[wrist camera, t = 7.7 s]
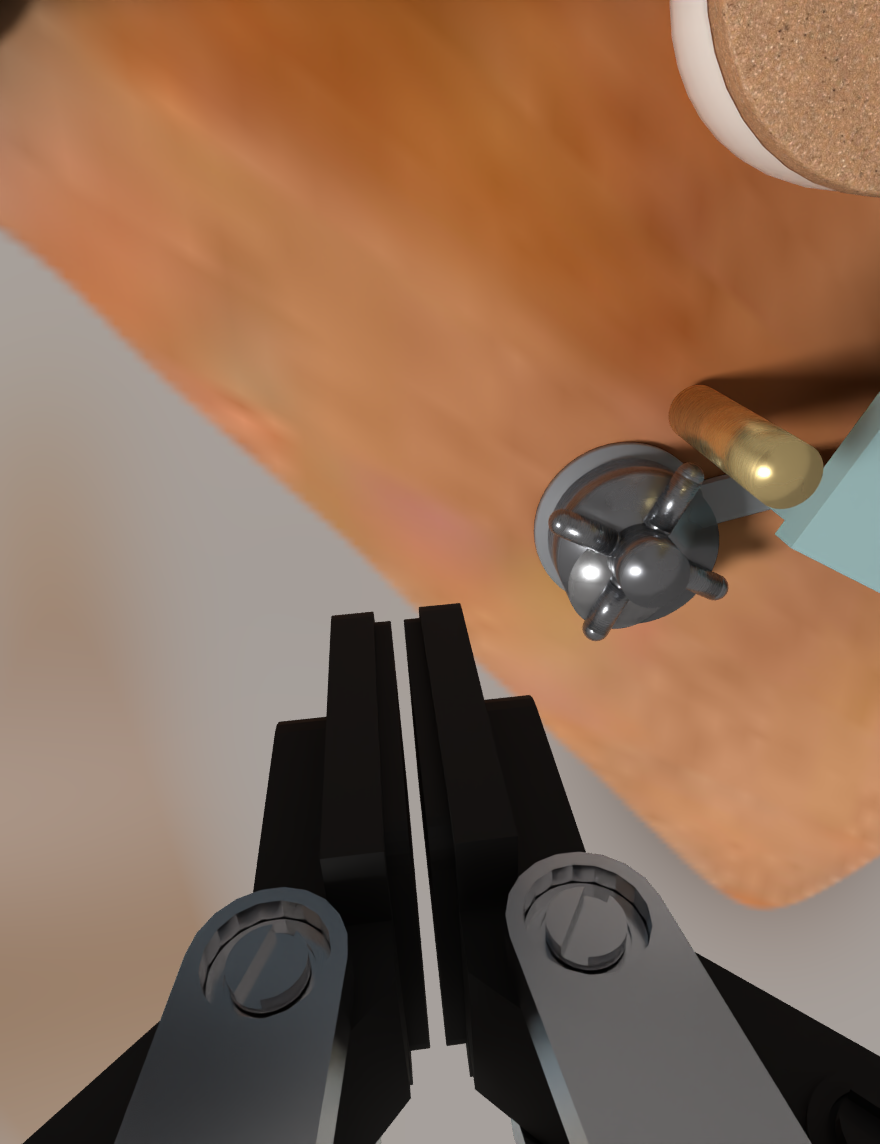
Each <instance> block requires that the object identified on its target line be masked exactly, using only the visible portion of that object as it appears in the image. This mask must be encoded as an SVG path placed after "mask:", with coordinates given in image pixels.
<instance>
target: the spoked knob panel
mask: <svg viewBox="0 0 880 1144" xmlns="http://www.w3.org/2000/svg"><path fill="white" fill-rule="evenodd" d="M622 459H646V460H650V461H655V462H657V463H660V464H663V465H665V466H667V467H669V468H670V469H672V470H673V471H675V472H676V470H677V469H678V467H680V466H681V465H682V464H683V463H682V462H681V461H679V460H678V459H677V458H676V457H675V456H673V455H672V454H670V453H668V452H667V451H665V450H663V449H660V448H658V447H656V446H652V445H648V444H644V443H636V442H621V443H613V444H608V445H604V446H601V447H598V448H595V449H593V450H590V451H588V452H586V453H584V454H582V455H580V456H579V457H577V458H576V459H574V460H573V461H571V462H570V463H569V464H567V465H566V466H565V467H564V468H563V469H562V470H561V471H560V472H559V473H558V474H557V475H556V476H555V477H554V479H553V480H552V481H551V482H550V484H549V485H548V487H547V488H546V490H545V492H544V494H543V496H542V498H541V500H540V503H539V505H538V508H537V512H536V516H535V522H534V540H535V545H536V550H537V553H538V556H539V558H540V561H541V563H542V565H543V567H544V569H545V570H546V572H547V573H548V575H549V576H550V577H551V579H552V580H553V581H554V582H555V583H556V584H557V585H558V586H559V587H561V588H562V589H563V590H565V589H564V587H563V585H562V582H561V580H560V578H559V576H558V573H557V571H556V569H555V567H554V565H553V562H552V560H551V557H550V553H549V549H548V529H549V525H548V520H549V517H550V515H551V514H552V513H553V511H554V509H555V507H556V505H557V503H558V501H559V500H560V498H561V497H562V495H563V494H564V493H565V492H566V490H567V489H568V488H569V487H570V486H571V485H572V484H573V483H574V482H575V481H576V480H577V479H579V478H580V477H581V476H583V475H584V474H585V473H587V472H589V471H590V470H592V469H594V468H596V467H598V466H600V465H603V464H605V463H609V462H612V461H616V460H622ZM697 492H698V493H699V494H700V495H701V496H702V497H703V498H704V499H705V500H706V502H707V503H708V504H709V506H710V507H711V509H712V511H713V513H714V515H715V518H716V521H717V523H721V522H724V521H728V520H732V519H736V518H740V517H743V516H747V515H751V514H755V513H758V512H762V511H766V510H770V509H771V510H773V511H774V512H775V513H776V514H778V515H779V516H780V517H781V518H783V519H784V520H785V521H784V522H783V524H782V525H781V526H780V528H779V529H778V530H777V532H776V533H775V535H776V536H778V537H779V538H780V539H781V540H782V541H783V542H785V543H786V544H787V545H788V546H789V547H790V548H792V549H794V550H796V551H798V552H800V553H802V554H804V555H806V556H808V557H810V558H812V559H814V560H816V561H818V562H820V563H822V564H824V565H826V566H828V567H829V568H831V569H833V570H835V571H837V572H839V573H841V574H843V575H845V576H847V577H849V578H851V579H853V580H855V581H857V582H859V583H861V584H863V585H865V586H867V587H869V588H871V589H873V590H875V591H877V592H879V593H880V392H879V393H878V395H877V396H876V397H875V399H874V400H873V401H872V403H871V404H870V405H869V407H868V408H867V410H866V411H865V412H864V414H863V415H862V416H861V418H860V419H859V420H858V422H857V423H856V424H855V426H854V427H853V429H852V430H851V431H850V433H849V434H848V435H847V437H846V438H845V439H844V441H843V442H842V443H841V445H840V446H839V448H838V449H837V450H836V452H835V453H834V454H833V456H832V457H831V458H830V460H829V461H828V462H827V464H826V465H825V467H824V468H823V476H822V479H821V482H820V484H819V486H818V488H817V489H816V491H815V492H814V493H813V494H812V495H811V496H810V497H809V498H808V499H807V500H806V501H804V502H803V503H801V504H799V505H797V506H795V507H792V508H787V509H774V508H771V507H768V506H766V505H765V504H763V503H762V502H761V501H760V500H758V499H757V498H756V497H755V496H753V495H752V494H751V493H750V492H748V491H747V490H746V489H745V488H743V487H742V486H741V485H740V484H738V483H737V482H736V481H735V480H733V479H732V478H731V477H730V476H728V475H727V474H725V475H721V476H718V477H714V478H710V479H707V480H703V483H702V485H701V486H700V488H699V490H698V491H697Z"/></svg>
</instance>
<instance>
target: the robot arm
mask: <svg viewBox="0 0 880 1144" xmlns="http://www.w3.org/2000/svg"><path fill="white" fill-rule="evenodd" d="M404 627H405V639H406V650H407V661H408V672H409V683H410V694H411V705H412V716H413V727H414V738H415V749H416V760H417V771H418V780H419V781H418V782H419V791H420V802H421V810H422V820H423V830H424V839H425V848H426V858H427V868H428V877H429V885H430V895H431V905H432V913H433V924H434V933H435V943H436V951H437V961H438V970H439V980H440V989H441V998H442V1008H443V1017H444V1027H445V1036H446V1045H447V1046H449V1045H457V1044H464V1043H466V1048H467V1056H468V1063H469V1071H470V1077H472V1076H473V1077H474V1083H475V1089H476V1090H477V1091H478V1092H479V1093H480V1094H482V1095H483V1096H484V1097H485V1098H487V1099H488V1100H489V1101H490V1102H491V1103H493V1104H494V1105H495V1106H496V1107H498V1108H499V1109H500V1110H501V1111H503V1112H504V1113H505V1114H506V1115H508V1116H509V1117H510V1118H511V1123H512V1129H513V1135H514V1139H515V1142H516V1144H880V1056H878V1055H876V1054H874V1053H873V1052H871V1051H869V1050H867V1049H866V1048H864V1047H862V1046H860V1045H859V1044H857V1043H855V1042H853V1041H852V1040H850V1039H848V1038H846V1037H845V1036H843V1035H841V1034H839V1033H837V1032H836V1031H834V1030H832V1029H830V1028H829V1027H827V1026H825V1025H823V1024H821V1023H820V1022H818V1021H816V1020H814V1019H813V1018H811V1017H809V1016H807V1015H806V1014H804V1013H802V1012H800V1011H798V1010H797V1009H795V1008H793V1007H791V1006H790V1005H788V1004H786V1003H784V1002H782V1001H781V1000H779V999H777V998H775V997H774V996H772V995H770V994H768V993H767V992H765V991H763V990H761V989H759V988H758V987H756V986H754V985H752V984H751V983H749V982H747V981H745V980H743V979H742V978H740V977H738V976H736V975H734V974H733V973H731V972H729V971H728V970H726V969H724V968H722V967H721V966H719V965H717V964H715V963H713V962H712V961H710V960H708V959H706V958H704V957H703V956H701V955H699V954H697V953H696V952H694V950H693V949H692V947H691V945H690V944H689V942H688V941H687V939H686V937H685V936H684V934H683V932H682V931H681V929H680V928H679V926H678V924H677V923H676V921H675V920H674V918H673V916H672V914H671V913H670V912H669V909H668V908H667V906H666V905H665V903H664V901H663V900H662V898H661V896H660V895H659V894H658V893H657V891H656V890H655V889H654V888H653V887H652V885H650V883H649V882H648V881H647V879H646V878H645V877H643V876H642V875H641V874H639V873H638V872H636V871H635V870H633V869H632V868H630V867H629V866H628V865H626V864H624V863H622V862H620V861H617V860H614V859H612V858H609V857H607V856H604V855H599V854H592V853H586V851H585V849H584V845H583V843H582V840H581V837H580V834H579V831H578V828H577V825H576V822H575V819H574V816H573V813H572V810H571V807H570V804H569V801H568V798H567V796H566V792H565V790H564V787H563V784H562V781H561V778H560V775H559V772H558V769H557V766H556V763H555V760H554V757H553V754H552V751H551V748H550V745H549V742H548V740H547V737H546V734H545V731H544V728H543V725H542V722H541V719H540V716H539V713H538V710H537V707H536V704H535V702H534V700H533V698H532V697H531V696H530V695H526V696H517V697H507V698H498V699H489V700H484V697H483V693H482V689H481V685H480V681H479V677H478V673H477V669H476V665H475V661H474V656H473V652H472V648H471V644H470V640H469V636H468V632H467V628H466V624H465V620H464V616H463V612H462V608H461V605H460V603H456V604H446V605H436V606H426V607H419V618H415V619H405V620H404ZM330 634H331V635H330V653H329V654H330V655H329V674H328V696H327V716H326V717H321V718H311V719H301V720H292V721H283V722H279V723H278V724H277V726H276V731H275V736H274V744H273V752H272V758H271V766H270V773H269V780H268V788H267V795H266V802H265V809H264V817H263V824H262V832H261V839H260V846H259V853H258V860H257V869H256V875H255V883H254V890H253V893H251V894H249V895H246V896H243V897H241V898H238V899H236V900H235V901H233V902H231V903H230V904H228V905H227V906H225V907H224V908H222V909H221V910H219V911H218V912H216V913H215V914H214V915H213V916H212V917H211V918H210V919H209V920H208V922H207V923H206V924H205V925H204V926H203V927H202V928H201V929H200V930H199V931H198V932H197V934H196V935H195V937H194V939H193V941H192V943H191V945H190V946H189V948H188V950H187V952H186V954H185V956H184V958H183V961H182V964H181V967H180V969H179V972H178V975H177V977H176V980H175V983H174V985H173V988H172V990H171V993H170V996H169V998H168V1001H167V1004H166V1006H165V1009H164V1012H163V1014H162V1017H161V1020H160V1021H159V1022H158V1023H157V1024H156V1025H155V1026H153V1027H152V1028H151V1029H150V1030H149V1031H148V1032H147V1033H146V1034H145V1035H143V1037H141V1038H140V1039H139V1040H138V1041H137V1042H136V1043H135V1044H134V1045H132V1046H131V1047H130V1048H129V1049H128V1050H127V1051H126V1052H124V1053H123V1054H122V1055H121V1056H120V1057H119V1058H118V1059H117V1060H115V1062H113V1063H112V1064H111V1065H110V1066H109V1067H108V1068H107V1069H106V1070H104V1071H103V1072H102V1073H101V1074H100V1075H99V1076H98V1077H96V1078H95V1079H94V1080H93V1081H92V1082H91V1083H90V1084H89V1085H88V1086H86V1087H85V1088H84V1089H83V1090H82V1091H81V1092H80V1093H79V1094H77V1095H76V1096H75V1097H74V1098H73V1099H72V1100H71V1101H70V1102H69V1103H68V1104H66V1105H65V1106H64V1107H63V1108H62V1109H61V1110H60V1111H59V1112H57V1113H56V1114H55V1115H54V1116H53V1117H52V1118H51V1119H50V1120H48V1121H47V1122H46V1123H45V1124H44V1125H43V1126H42V1127H41V1128H39V1129H38V1130H37V1131H36V1132H35V1133H34V1134H33V1135H32V1136H31V1137H29V1139H27V1140H26V1141H25V1142H24V1143H23V1144H381V1136H382V1135H383V1133H384V1132H385V1131H386V1129H387V1128H388V1127H389V1126H390V1124H391V1123H392V1122H393V1120H394V1119H395V1118H396V1116H397V1115H398V1114H399V1113H400V1111H401V1110H402V1109H403V1108H404V1106H405V1105H406V1104H407V1102H408V1101H409V1100H410V1098H411V1096H410V1085H413V1077H412V1062H411V1051H412V1050H419V1049H426V1048H430V1040H429V1028H428V1017H427V1005H426V995H425V983H424V971H423V960H422V950H421V938H420V926H419V915H418V903H417V892H416V880H415V869H414V859H413V846H412V835H411V823H410V812H409V801H408V790H407V780H406V770H405V760H404V750H403V741H402V730H401V720H400V710H399V700H398V690H397V680H396V671H395V660H394V650H393V640H392V631H391V622H390V621H386V622H375V620H374V614H373V612H365V613H355V614H345V615H335V616H332V617H331V633H330Z"/></svg>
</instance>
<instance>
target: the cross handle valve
mask: <svg viewBox="0 0 880 1144" xmlns="http://www.w3.org/2000/svg"><path fill="white" fill-rule="evenodd" d="M669 422H670V425H671V428H672V429H673V431H674V432H675V433H676V434H678V435H679V436H680V437H681V438H683V439H684V440H685V441H686V442H687V443H689V444H690V445H691V446H692V447H694V448H695V449H696V450H697V451H699V452H700V453H701V454H702V455H704V456H705V457H706V458H707V459H709V460H710V461H711V462H712V463H714V464H715V465H716V466H717V467H719V468H720V469H721V470H722V471H724V472H725V473H726V474H727V475H728V476H730V477H731V478H732V479H733V480H735V481H736V482H737V483H738V484H740V485H741V486H742V487H743V488H745V489H746V490H747V491H748V492H750V493H751V494H752V495H753V496H755V497H756V498H757V499H758V500H760V501H761V502H762V503H763V504H765V505H766V506H768V507H771V508H774V509H787V508H792V507H795V506H797V505H799V504H801V503H803V502H804V501H806V500H807V499H808V498H809V497H810V496H811V495H812V494H813V493H814V492H815V491H816V489H817V488H818V486H819V484H820V482H821V479H822V476H823V461H822V458H821V456H820V454H819V452H818V451H817V450H816V449H815V448H814V447H812V446H811V445H809V444H807V443H806V442H804V441H802V440H800V439H799V438H797V437H795V436H794V435H792V434H790V433H788V432H787V431H785V430H783V429H782V428H780V427H778V426H776V425H775V424H773V423H771V422H770V421H768V420H766V419H764V418H763V417H761V416H759V415H757V414H756V413H754V412H752V411H751V410H749V409H747V408H745V407H744V406H742V405H740V404H739V403H737V402H735V401H733V400H732V399H730V398H728V397H727V396H725V395H723V394H721V393H720V392H718V391H716V390H714V389H713V388H711V387H709V386H705V385H694V386H691V387H688V388H686V389H684V390H683V391H682V392H680V393H679V394H678V395H677V396H676V397H675V399H674V400H673V402H672V404H671V406H670V410H669ZM703 480H704V472H703V470H702V469H701V467H700V466H699V465H697V464H695V463H685V464H682V465H681V466H680V467H678V469H677V470H676V472H675V471H673V470H672V469H670V468H669V467H667V466H665V465H663V464H660V463H657V462H655V461H650V460H646V459H622V460H616V461H612V462H609V463H605V464H603V465H600V466H598V467H596V468H594V469H592V470H590V471H589V472H587V473H585V474H584V475H583V476H581V477H580V478H579V479H577V480H576V481H575V482H574V483H573V484H572V485H571V486H570V487H569V488H568V489H567V490H566V492H565V493H564V494H563V495H562V497H561V498H560V500H559V501H558V503H557V505H556V507H555V509H554V511H553V513H552V514H551V515H550V517H549V520H548V525H549V529H548V549H549V553H550V557H551V560H552V562H553V565H554V567H555V569H556V571H557V573H558V576H559V578H560V580H561V582H562V585H563V587H564V589H565V591H566V593H567V595H568V597H569V600H570V602H571V604H572V606H573V608H574V609H575V611H576V612H577V613H578V614H579V616H581V617H582V618H583V619H584V620H585V621H584V623H583V633H584V635H585V636H586V637H587V638H588V639H590V640H592V641H600V640H602V639H604V638H605V637H606V636H607V635H608V633H609V631H610V630H611V629H619V628H626V627H630V626H633V625H636V624H638V623H644V622H649V621H652V620H656V619H659V618H661V617H663V616H666V615H668V614H670V613H672V612H674V611H675V610H677V609H678V608H680V607H681V606H683V605H684V604H685V603H687V602H688V601H689V600H690V599H691V598H693V596H694V595H695V594H698V595H700V596H702V597H705V598H707V599H710V600H719V599H721V598H723V597H724V596H725V595H726V594H727V592H728V583H727V581H726V579H725V578H724V577H723V576H721V575H719V574H717V573H714V572H712V569H713V567H714V565H715V561H716V558H717V555H718V548H719V531H718V525H717V521H716V518H715V515H714V513H713V511H712V509H711V507H710V506H709V504H708V503H707V502H706V500H705V499H704V498H703V497H702V496H701V495H700V494H699V493H698V492H697V491H698V490H699V488H700V486H701V485H702V483H703Z"/></svg>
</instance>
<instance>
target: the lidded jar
mask: <svg viewBox="0 0 880 1144" xmlns="http://www.w3.org/2000/svg"><path fill="white" fill-rule="evenodd" d="M670 16H671V34H672V41H673V46H674V51H675V56H676V61H677V66H678V69H679V72H680V75H681V78H682V81H683V84H684V86H685V89H686V92H687V95H688V97H689V98H690V100H691V102H692V104H693V106H694V108H695V110H696V111H697V113H698V115H699V117H700V119H701V120H702V121H703V123H704V124H705V125H706V126H707V128H708V129H709V130H710V131H711V133H712V134H713V135H714V136H715V138H716V139H717V140H718V141H719V142H720V143H721V144H723V145H724V146H725V147H726V148H727V149H728V150H730V151H731V152H732V153H733V154H734V155H735V156H737V157H738V158H740V159H741V160H742V161H744V162H746V163H747V164H749V165H751V166H753V167H754V168H756V169H758V170H760V171H761V172H763V173H765V174H766V175H769V176H772V177H775V178H778V179H781V180H784V181H787V182H790V183H793V184H796V185H800V186H803V187H807V188H815V189H822V190H830V191H839V192H842V193H847V194H855V195H862V196H870V197H880V0H670Z"/></svg>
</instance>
